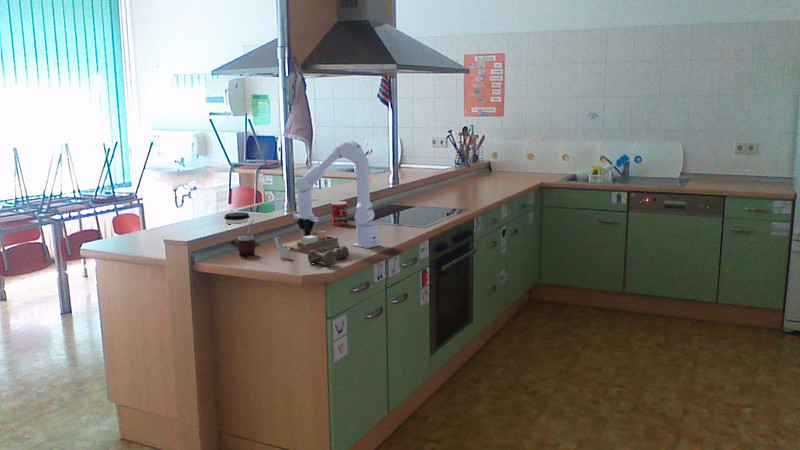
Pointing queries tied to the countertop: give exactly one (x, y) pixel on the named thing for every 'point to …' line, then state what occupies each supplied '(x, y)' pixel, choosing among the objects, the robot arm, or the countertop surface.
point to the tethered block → (314, 234)
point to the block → (309, 239)
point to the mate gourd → (246, 243)
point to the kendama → (328, 255)
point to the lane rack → (312, 245)
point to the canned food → (339, 213)
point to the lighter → (282, 249)
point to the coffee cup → (236, 218)
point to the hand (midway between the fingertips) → (306, 236)
